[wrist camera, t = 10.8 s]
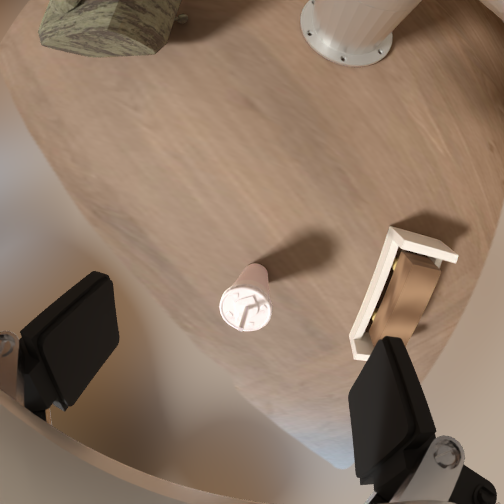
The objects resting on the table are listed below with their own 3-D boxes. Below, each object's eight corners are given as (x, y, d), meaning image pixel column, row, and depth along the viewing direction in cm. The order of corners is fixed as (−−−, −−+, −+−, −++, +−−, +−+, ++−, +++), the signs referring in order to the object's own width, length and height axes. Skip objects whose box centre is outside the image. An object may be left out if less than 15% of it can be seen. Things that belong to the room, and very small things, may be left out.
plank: (401, 250, 35) (412, 264, 31) (428, 257, 35) (441, 271, 31) (368, 331, 41) (374, 349, 37) (394, 334, 40) (401, 352, 36)
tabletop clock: (200, 11, 28) (106, -82, 5) (183, 63, 32) (58, 0, 9) (119, 16, 29) (8, -29, 6) (104, 63, 32) (-23, 41, 9)
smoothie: (284, 266, 41) (279, 323, 28) (265, 299, 43) (253, 362, 30) (244, 247, 41) (221, 298, 28) (227, 282, 43) (201, 340, 30)
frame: (389, 225, 36) (404, 239, 31) (440, 240, 36) (458, 255, 30) (348, 335, 44) (353, 359, 38) (395, 341, 43) (404, 364, 38)
